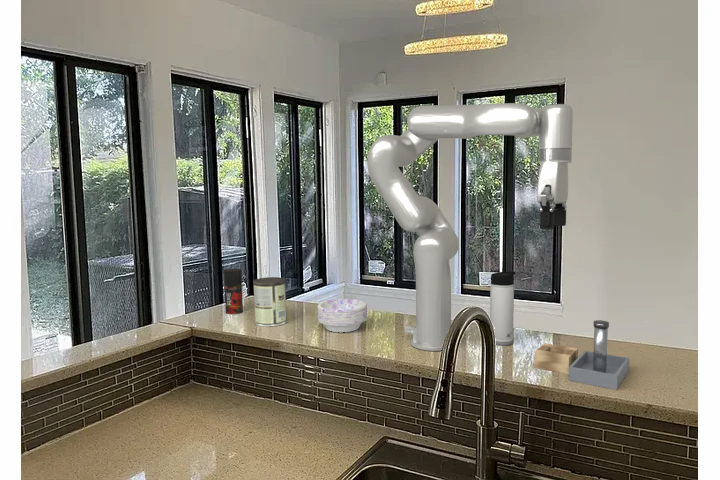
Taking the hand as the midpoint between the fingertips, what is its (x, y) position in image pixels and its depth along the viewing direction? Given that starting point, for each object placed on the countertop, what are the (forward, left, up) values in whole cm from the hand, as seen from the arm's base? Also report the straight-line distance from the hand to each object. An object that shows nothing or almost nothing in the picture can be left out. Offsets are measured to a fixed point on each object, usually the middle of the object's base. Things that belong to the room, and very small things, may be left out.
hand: (553, 227), depth 134 cm
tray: (+13, -6, -33) cm, 36 cm away
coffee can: (-85, -14, -34) cm, 92 cm away
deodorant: (-106, -11, -34) cm, 112 cm away
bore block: (+3, -5, -33) cm, 34 cm away
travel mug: (-15, +6, -34) cm, 37 cm away
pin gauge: (+13, -6, -33) cm, 36 cm away
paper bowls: (-61, -7, -34) cm, 70 cm away
